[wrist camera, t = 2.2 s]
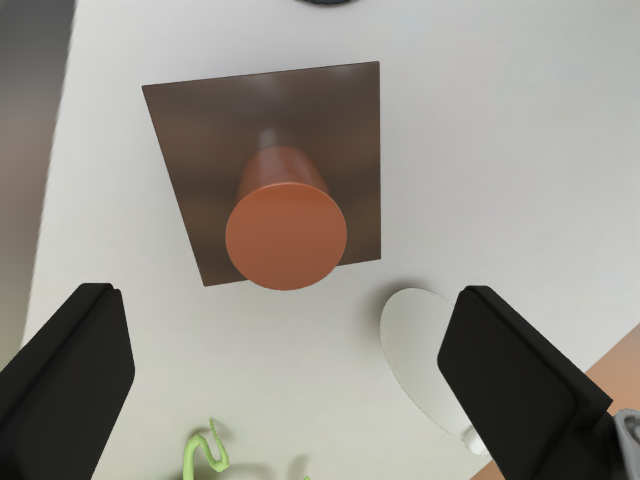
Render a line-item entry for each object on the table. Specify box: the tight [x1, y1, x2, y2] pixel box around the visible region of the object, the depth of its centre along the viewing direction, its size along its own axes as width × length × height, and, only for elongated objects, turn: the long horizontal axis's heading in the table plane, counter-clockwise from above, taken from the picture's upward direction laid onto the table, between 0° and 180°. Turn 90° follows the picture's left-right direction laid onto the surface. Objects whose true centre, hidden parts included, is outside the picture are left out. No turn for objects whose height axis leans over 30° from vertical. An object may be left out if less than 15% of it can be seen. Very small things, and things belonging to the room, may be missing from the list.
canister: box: [225, 146, 347, 290], centre depth 16 cm, size 5×5×7 cm
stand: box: [142, 61, 381, 287], centre depth 23 cm, size 12×12×8 cm
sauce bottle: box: [380, 288, 498, 467], centre depth 27 cm, size 8×8×18 cm
